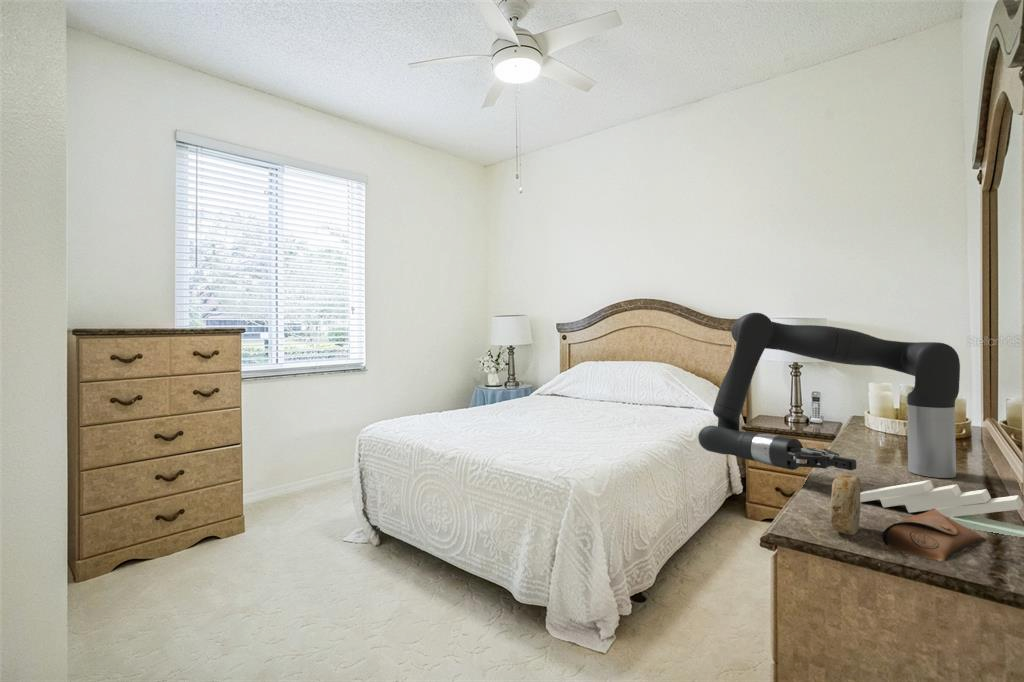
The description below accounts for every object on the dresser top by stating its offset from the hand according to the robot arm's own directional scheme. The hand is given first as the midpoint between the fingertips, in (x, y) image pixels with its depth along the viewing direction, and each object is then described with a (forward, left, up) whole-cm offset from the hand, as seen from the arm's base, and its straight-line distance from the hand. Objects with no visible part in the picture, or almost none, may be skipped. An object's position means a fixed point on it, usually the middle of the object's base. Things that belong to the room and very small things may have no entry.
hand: (854, 465), depth 106 cm
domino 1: (0, +2, -6) cm, 6 cm away
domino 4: (0, +14, -6) cm, 15 cm away
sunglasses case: (+14, +18, -8) cm, 25 cm away
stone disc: (+22, +8, -7) cm, 25 cm away
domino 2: (0, +6, -6) cm, 8 cm away
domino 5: (0, +16, -7) cm, 18 cm away
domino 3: (0, +10, -6) cm, 12 cm away
